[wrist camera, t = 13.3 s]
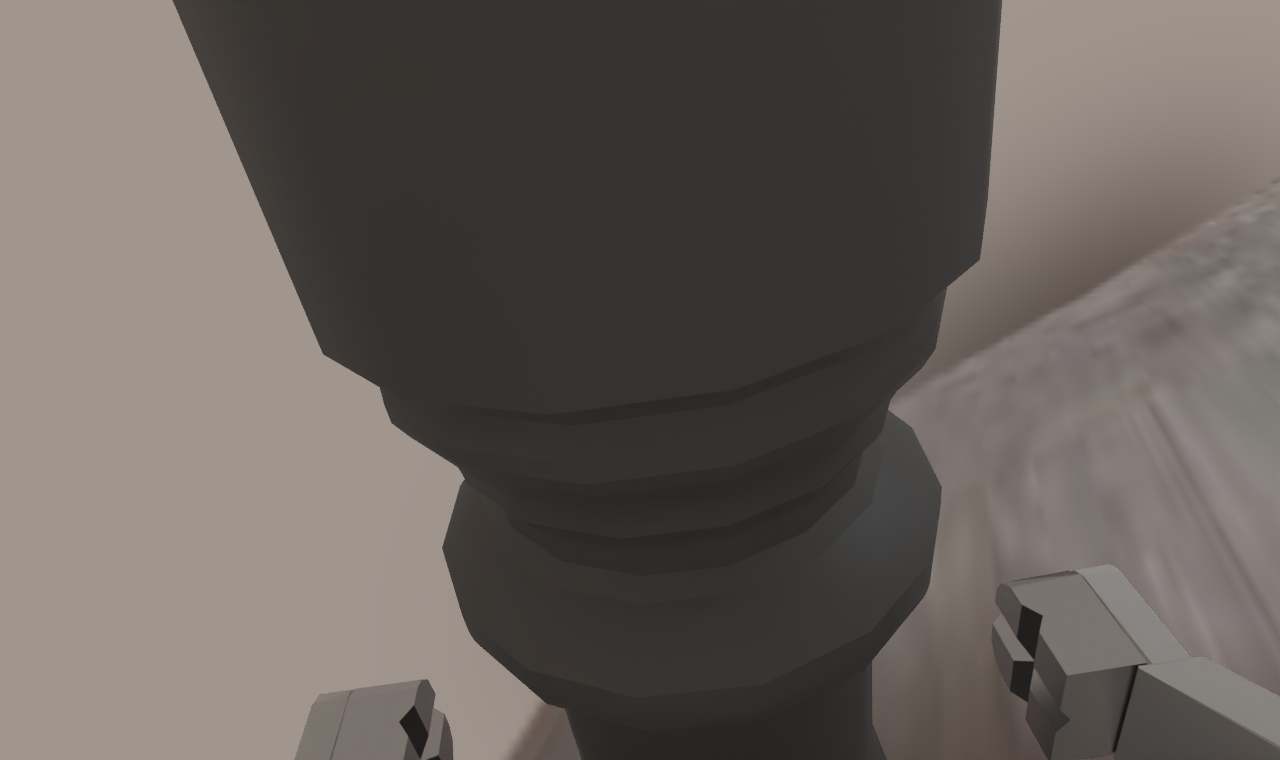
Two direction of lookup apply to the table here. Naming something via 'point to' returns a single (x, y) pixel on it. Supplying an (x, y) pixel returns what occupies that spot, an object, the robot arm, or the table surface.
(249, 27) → the candle holder
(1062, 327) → the table surface
